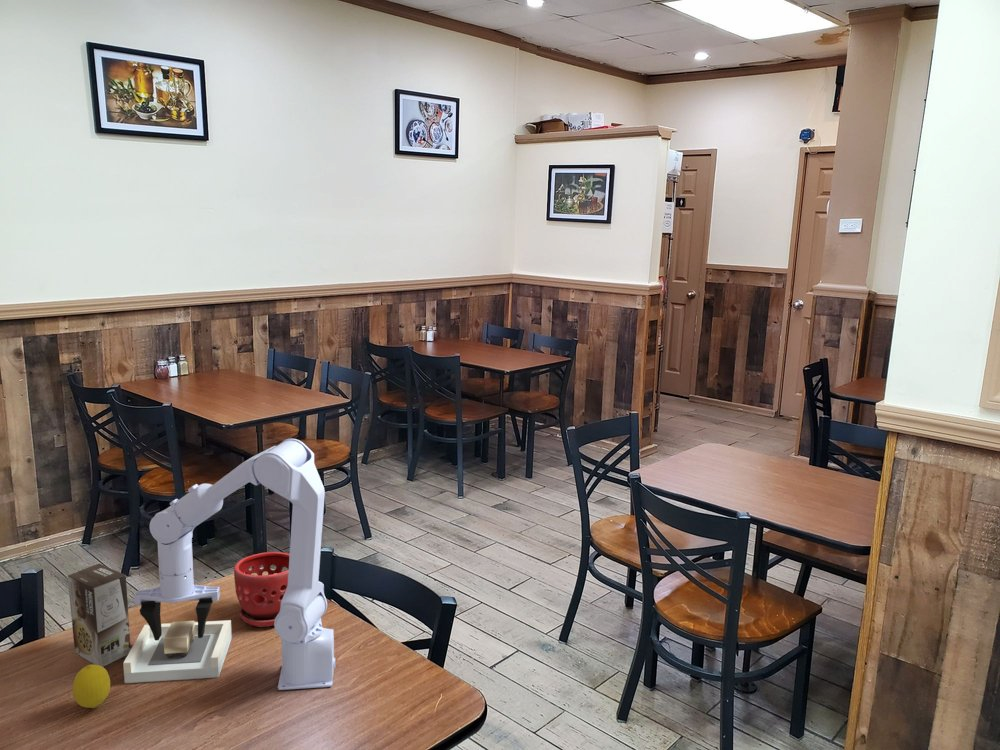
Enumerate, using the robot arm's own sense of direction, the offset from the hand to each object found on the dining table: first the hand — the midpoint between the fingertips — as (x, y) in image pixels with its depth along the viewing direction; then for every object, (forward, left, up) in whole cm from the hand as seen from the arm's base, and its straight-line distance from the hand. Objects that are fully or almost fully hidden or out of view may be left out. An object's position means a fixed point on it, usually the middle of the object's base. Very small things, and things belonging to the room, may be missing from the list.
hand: (179, 636), depth 139 cm
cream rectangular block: (0, 0, -3) cm, 3 cm away
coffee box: (+15, -4, -5) cm, 16 cm away
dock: (0, 0, -5) cm, 5 cm away
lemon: (+11, +13, -5) cm, 18 cm away
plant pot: (-14, -15, -5) cm, 21 cm away
